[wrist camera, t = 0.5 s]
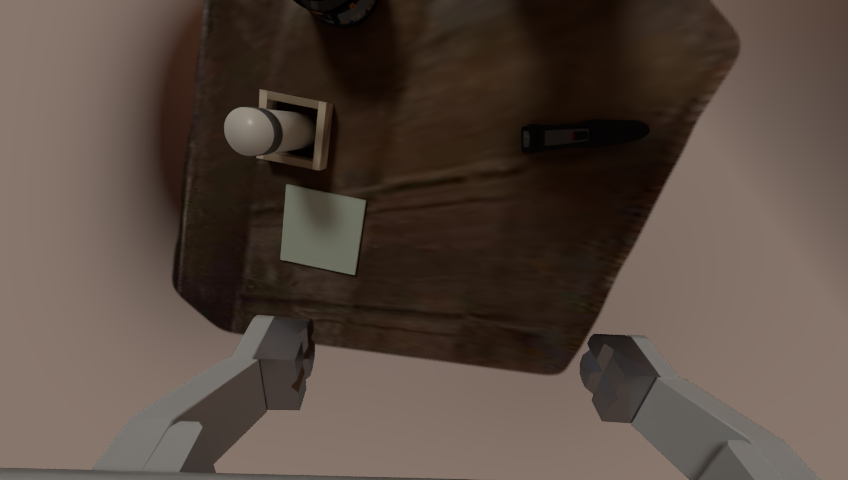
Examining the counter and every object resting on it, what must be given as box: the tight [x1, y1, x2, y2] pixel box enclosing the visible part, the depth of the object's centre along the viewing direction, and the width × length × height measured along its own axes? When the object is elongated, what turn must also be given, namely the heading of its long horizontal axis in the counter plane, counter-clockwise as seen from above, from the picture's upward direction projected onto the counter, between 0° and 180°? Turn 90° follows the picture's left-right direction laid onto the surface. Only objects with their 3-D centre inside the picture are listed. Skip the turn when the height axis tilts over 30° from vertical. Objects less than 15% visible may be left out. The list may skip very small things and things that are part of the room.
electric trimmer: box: [521, 120, 650, 153], centre depth 49 cm, size 4×16×3 cm, turn 94°
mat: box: [280, 184, 366, 275], centre depth 57 cm, size 12×12×1 cm
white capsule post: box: [224, 107, 316, 156], centre depth 47 cm, size 5×5×14 cm
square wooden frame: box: [256, 89, 333, 171], centre depth 52 cm, size 9×9×3 cm
